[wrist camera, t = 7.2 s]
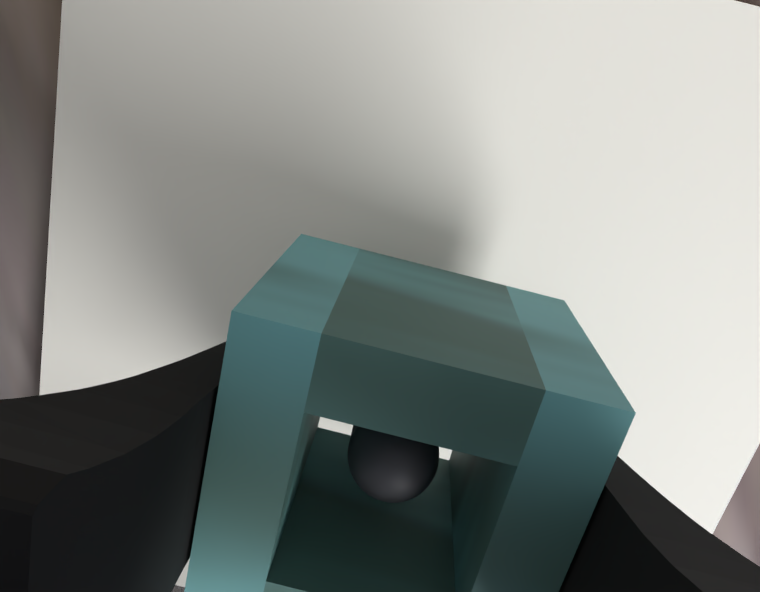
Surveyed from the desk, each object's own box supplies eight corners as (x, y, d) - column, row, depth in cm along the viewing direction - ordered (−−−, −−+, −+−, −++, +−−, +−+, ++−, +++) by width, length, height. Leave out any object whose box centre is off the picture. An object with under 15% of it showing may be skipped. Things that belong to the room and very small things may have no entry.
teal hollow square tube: (485, 516, 14) (509, 703, 10) (256, 458, 14) (179, 620, 10) (564, 300, 12) (635, 412, 8) (301, 233, 12) (231, 310, 8)
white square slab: (616, 668, 19) (702, 934, 13) (50, 525, 19) (-126, 726, 13) (921, 59, 13) (1337, 33, 7) (98, -149, 13) (-186, -354, 7)
